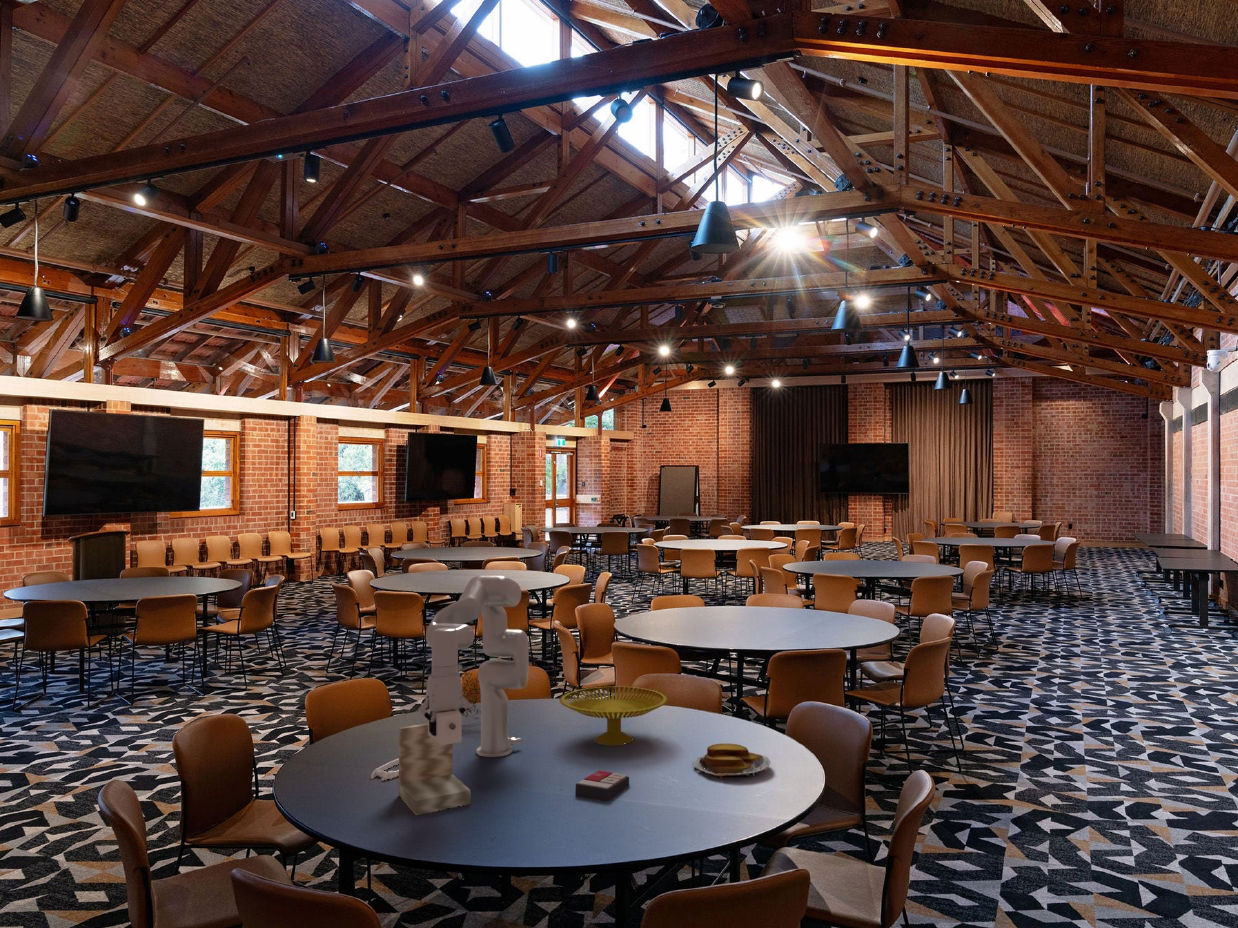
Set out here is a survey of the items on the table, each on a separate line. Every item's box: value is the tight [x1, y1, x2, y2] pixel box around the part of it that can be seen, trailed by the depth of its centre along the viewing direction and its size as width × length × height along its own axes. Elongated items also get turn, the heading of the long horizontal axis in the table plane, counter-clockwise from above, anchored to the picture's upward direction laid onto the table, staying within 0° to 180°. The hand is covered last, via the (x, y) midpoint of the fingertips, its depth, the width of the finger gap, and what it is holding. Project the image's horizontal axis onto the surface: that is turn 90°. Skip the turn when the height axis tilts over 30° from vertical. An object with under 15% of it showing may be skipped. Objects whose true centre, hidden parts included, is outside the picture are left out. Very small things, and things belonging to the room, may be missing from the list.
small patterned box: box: [574, 770, 630, 802], centre depth 244 cm, size 11×4×15 cm
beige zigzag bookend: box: [398, 722, 472, 816], centre depth 237 cm, size 16×18×20 cm
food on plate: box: [692, 743, 771, 781], centre depth 263 cm, size 25×25×7 cm
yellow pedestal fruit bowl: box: [558, 685, 669, 746], centre depth 295 cm, size 40×40×15 cm
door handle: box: [370, 758, 399, 782], centre depth 265 cm, size 3×10×25 cm
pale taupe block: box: [427, 709, 463, 745], centre depth 235 cm, size 6×13×8 cm, turn 31°
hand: (444, 732), depth 236 cm, fingers closed on pale taupe block, 6 cm apart
